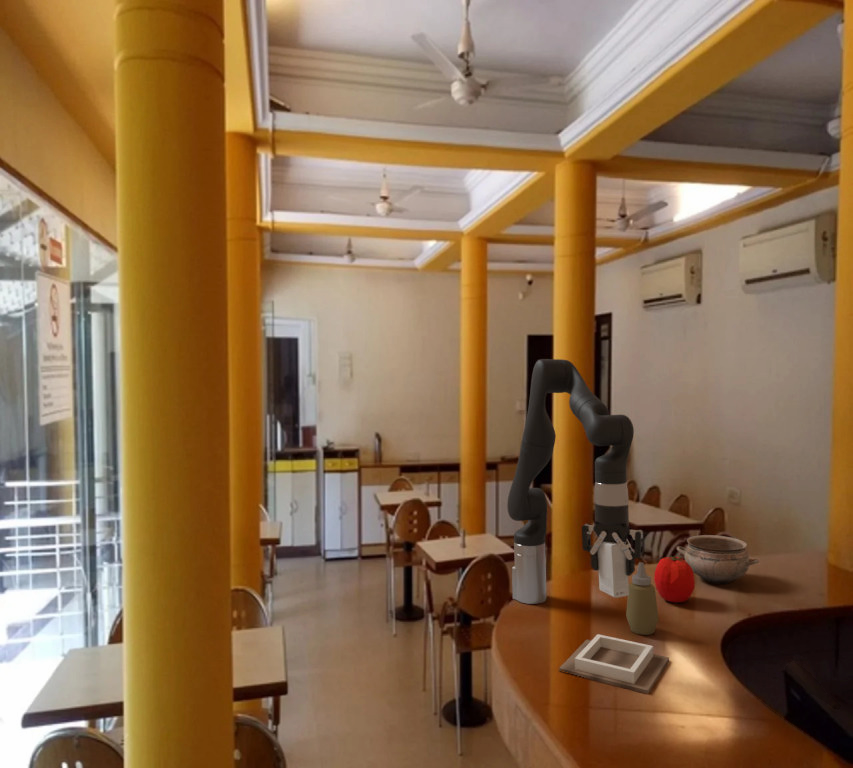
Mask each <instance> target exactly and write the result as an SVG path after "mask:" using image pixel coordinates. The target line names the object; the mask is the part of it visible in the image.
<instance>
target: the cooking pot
mask: <svg viewBox="0 0 853 768" xmlns="http://www.w3.org/2000/svg"><path fill="white" fill-rule="evenodd" d="M686 542H687V543H688V545H687V547H683V546H679V545H678V546H676V550H677V551H678V552H679V553H680V554H681V555H683V556H684V560H685V561H686V562H687V563H688V564H689V565H690V566H691V568H692V570H693V573H694V574H695V575H697V576H698V577H700V578H702V579H703V580H705V581H707V582H709V583H711V584H716V585H724V584H728V583H729V582H732V581H735V580H737V579H739V578H741V577H743V576H745V574H746V573H747V572H748V570H749V568H750V566H752V565H756V564H758V563H759V562H760V559H759V558H755V559H752V558H750V557H749V554H748V551H747V549H746V547H747V546H748V545H747V542H745V541H744V540H741V539H738V538H736V537H730V536H723V535H713V534H709V535H708V534H703V535H702V534H701V535H694V536H691V537H688V538H687V539H686Z"/></svg>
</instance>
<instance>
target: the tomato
mask: <svg viewBox="0 0 853 768" xmlns="http://www.w3.org/2000/svg"><path fill="white" fill-rule="evenodd" d="M694 574H695V573H694V572H693V570H692V568H691V566H690V565H689V564H688V563H687V562H686V561H685V558H682V557H679V556H675V555H674V556H672V555H669V557H668V556H667V557H662V558H660V560H659V561H658V563H657V565H656V567H655V571H654V576H653V581H654V584H655V590H656V591H657V593H658V594H659V596H660V597H661V598H662V599H663V600H665V601H668V602H671V603H684V602H686V601H688V599H690V598H691V596H692V595H693V592H694V590H695V585H696V584H695V583H696V581H695V575H694Z"/></svg>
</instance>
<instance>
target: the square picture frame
mask: <svg viewBox="0 0 853 768" xmlns="http://www.w3.org/2000/svg"><path fill="white" fill-rule="evenodd" d="M591 640H592V641H591V642H590V643H589V644H588V645H587V646H586V647H585V648H584V649H583V650H582V651H581V652H580V653H579V654H578V655H577V657H576V658H575V669H576V670H580V671H584V672H588V673H592V674H596V675H600V676H604V677H608V678H612V679H616V680H620V681H624V682H628V683H632V684H635V682H636V681H637V679H638V678H639V676H640V675H641V673H642V672H643V670H644V669H645V668H646V666H647V665H648V663H649V662H650V660H651V659H652V657H653V654H654V646H653V645H650V644H645V643H641V642H638V641H637V642H635V641H631V640H627V639H626V640H625V639H622V638H618V637H612V636H607V635H603V634H599V633H598V634H596V635H595V636H594V637H593V639H591ZM600 647H603V648H607V649H612V650H616V651H621V652H625V653H630V654H634V655H639V658H638V659H637V660H636V662H635V663H634V664H633V666H632V667H631V668H630V669H628V668H624V667H619V666H615V665H611V664H607V663H602V662H598V661H594V660H590V659H591V658H592V656H593V655H594V654H595V653H596V652H597V651H598V650H599V649H600Z"/></svg>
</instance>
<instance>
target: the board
mask: <svg viewBox="0 0 853 768" xmlns="http://www.w3.org/2000/svg"><path fill="white" fill-rule="evenodd" d="M592 640H593V639H586V640H585V641H583V643H582V644H581V645H579V647H577V649H576V650H575V651H574V652H573V653H572V654H571V655H570V656H569V657H568V658H567V659H566V660H565V661H564V663H562V664H561V666H560V667H559V668H558V672H559V671H564V672H568V673H572V674H574V675H573V676H575V675H577V676H576V677H579V676H581V677H580V678H583V677H584V679H586V680H590V679H591V681H594V680H595V682H599V683H603V684H606V685H612V686H614V687H617V688H623V689H627V690H630V691H634V692H638V693H642V694H647V695H648V694H649V693H650V692H651V690H652V689H653V687H654V686H655V683H656V682H657V681H658V680H659V677H660V676H661V674H662V673H663V671H664V670H665V668H666V667H667V665H668V663H669V662H670V657H668V656H664V655H659V654H654V653H653V657H652V659H651V660H650V662H649V663H648V665H647V666H646V668H645V669H644V670H643V672H642V673H641V675H640V676H639V678H638V679H637V681H636V682H635V684H632V683H628V682H624V681H620V680H616V679H612V678H608V677H604V676H600V675H596V674H592V673H588V672H584V671H580V670H576V669H575V658H576V657H577V655H578V654H579V653H580V652H581V651H582V650H583V649H584V648H585V647H586V646H587V645H588V644H589V643H590V642H591V641H592ZM638 658H639V655H634V654H630V653H625V652H621V651H616V650H612V649H607V648H603V647H600V649H599V650H598V651H597V652H596V653H595V654H594V655H593V656H592V658H591V659H590V660H594V661H598V662H602V663H607V664H611V665H615V666H619V667H624V668H628V669H630V668H631V667H632V666H633V664H634V663H635V662H636V660H637V659H638Z"/></svg>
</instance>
